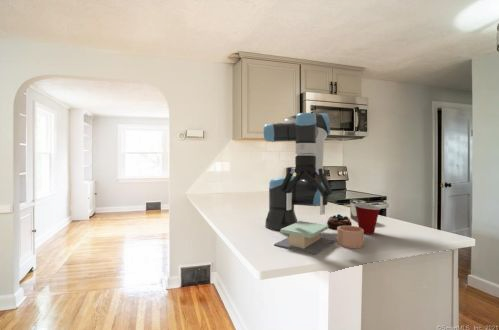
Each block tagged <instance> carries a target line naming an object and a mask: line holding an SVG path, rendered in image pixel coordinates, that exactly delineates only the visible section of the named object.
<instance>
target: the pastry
mask: <svg viewBox="0 0 499 330" xmlns="http://www.w3.org/2000/svg"><path fill="white" fill-rule="evenodd" d="M327 219H328V220H327V222H326V225H328V229H329V230H337V227H339V226H353V223H352V221H351V218H349V217H348V216H346V215H345V216H343V215H341V214H340V213H339V214H336V215H335V214H333V216H330V217H329V218H327Z"/></svg>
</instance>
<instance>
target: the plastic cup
mask: <svg viewBox="0 0 499 330" xmlns="http://www.w3.org/2000/svg"><path fill="white" fill-rule="evenodd" d="M354 205H355V208H356V213H357V220H358V223H357V225H358V227H360V228H362V229H363V230H364V235H374V234H375V230H376V226H377V222H378V217H379V215H380V214H379V213H380V211H381V210H382V207H381V206H378V205H374V204H369V203H366V204H354Z"/></svg>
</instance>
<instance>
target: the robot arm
mask: <svg viewBox="0 0 499 330" xmlns="http://www.w3.org/2000/svg"><path fill="white" fill-rule="evenodd" d="M330 135H331V126H330V117H329V115H328V113H320V112H319V113H313V112H300V113H297V114H295V115H292V116H289V117H285V118H284V119H283V120H281V122H277V123H266V124H265V125H264V127H263V139H264V140H265V141H266V142H272V143H275V142H295V154H296V155H295V160H294V162H295V164H294V165H295V168H293V167H288V168H287V171H286V172H287V173H286V175H285V176H281V177H280V176H279V177H276V178H271V179H270V181H269V185H268V187H269V188H268V212H267V215H266V218H265V223H264V225H265V227H266V228H267V229H269V230H270V229H271V230H275V231H280V229H282V228H285V227H287V226H289V225H292V224H294V223H297V222H299V221H298V219H297V215H296V211H295V206H306V207H307V206H308V207H309V206H310V207H319V215H324V214H326V205H328V202H329V201H328V200H329V199H328V198H329V197H328V196H331V195H332V194H334V191H333V189H332V187H331V185H330V182H329V181H328V179H327V176H326V174H325V168H324V167H323V166H324V165H323V164H324V145H325V144H324V143H325V140H326V139H327V136H330ZM294 173H295V175H294V176H293V174H294Z"/></svg>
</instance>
